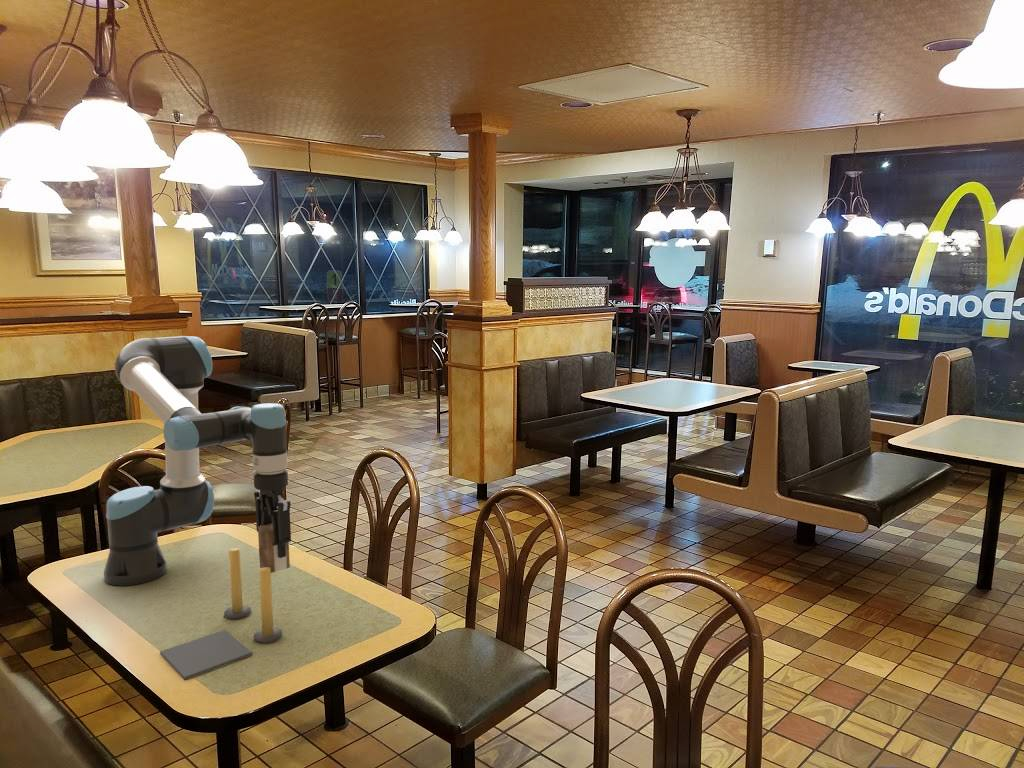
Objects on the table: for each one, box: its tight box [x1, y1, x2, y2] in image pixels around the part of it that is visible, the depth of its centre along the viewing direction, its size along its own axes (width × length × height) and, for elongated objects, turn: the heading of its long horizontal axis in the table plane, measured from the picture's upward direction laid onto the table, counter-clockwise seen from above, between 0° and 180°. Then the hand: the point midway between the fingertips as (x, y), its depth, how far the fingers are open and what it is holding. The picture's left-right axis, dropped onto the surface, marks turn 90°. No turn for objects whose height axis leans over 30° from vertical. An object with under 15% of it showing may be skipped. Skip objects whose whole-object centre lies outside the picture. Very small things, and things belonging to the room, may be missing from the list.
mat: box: [159, 629, 253, 681], centre depth 152 cm, size 14×14×1 cm
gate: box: [223, 547, 283, 645], centre depth 164 cm, size 22×6×16 cm, turn 44°
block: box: [257, 523, 291, 574], centre depth 167 cm, size 5×5×10 cm
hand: (274, 565), depth 168 cm, fingers closed on block, 5 cm apart
